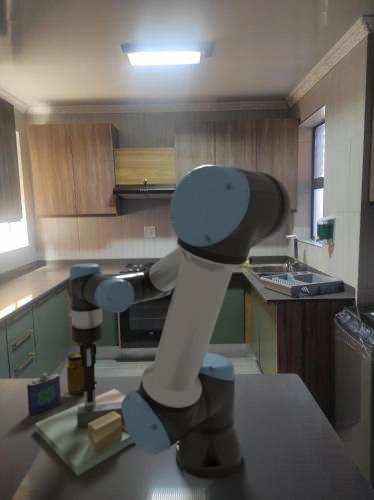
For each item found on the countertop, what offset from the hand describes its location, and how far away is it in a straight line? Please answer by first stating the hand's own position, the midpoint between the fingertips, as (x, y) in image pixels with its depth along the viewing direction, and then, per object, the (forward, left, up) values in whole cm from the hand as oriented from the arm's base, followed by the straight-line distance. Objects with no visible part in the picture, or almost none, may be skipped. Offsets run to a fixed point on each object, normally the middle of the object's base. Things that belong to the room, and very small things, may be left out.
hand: (90, 411), depth 87 cm
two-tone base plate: (-3, -1, -4) cm, 5 cm away
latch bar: (-4, -3, -2) cm, 5 cm away
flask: (+16, +5, -4) cm, 18 cm away
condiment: (+18, -7, -4) cm, 20 cm away
